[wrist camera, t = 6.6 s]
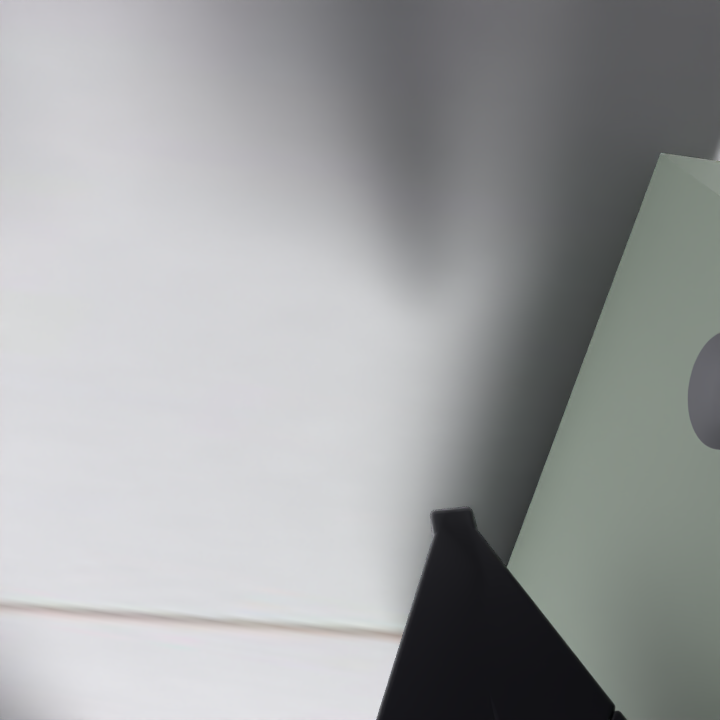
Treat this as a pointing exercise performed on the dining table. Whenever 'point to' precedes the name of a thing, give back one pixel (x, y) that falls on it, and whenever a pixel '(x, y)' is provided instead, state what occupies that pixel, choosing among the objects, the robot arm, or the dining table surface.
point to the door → (642, 468)
